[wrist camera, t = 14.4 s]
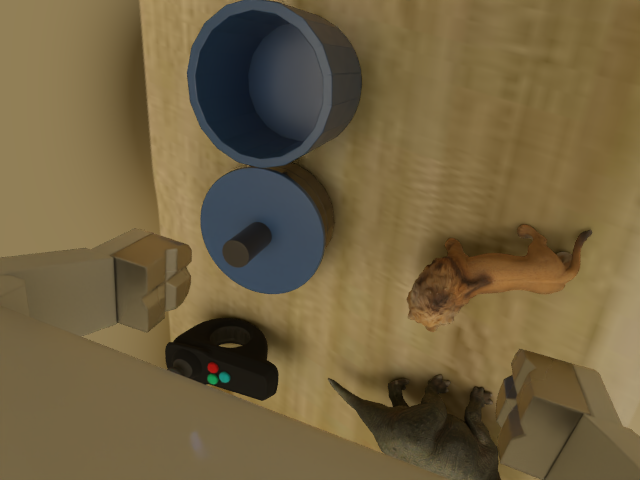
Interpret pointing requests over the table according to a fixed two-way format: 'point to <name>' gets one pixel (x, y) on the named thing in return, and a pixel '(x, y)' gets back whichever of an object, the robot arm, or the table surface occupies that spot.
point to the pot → (272, 82)
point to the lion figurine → (488, 276)
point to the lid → (263, 230)
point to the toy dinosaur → (431, 431)
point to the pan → (312, 194)
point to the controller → (225, 357)
